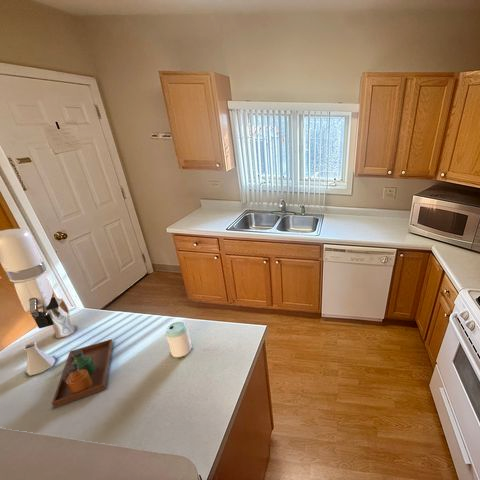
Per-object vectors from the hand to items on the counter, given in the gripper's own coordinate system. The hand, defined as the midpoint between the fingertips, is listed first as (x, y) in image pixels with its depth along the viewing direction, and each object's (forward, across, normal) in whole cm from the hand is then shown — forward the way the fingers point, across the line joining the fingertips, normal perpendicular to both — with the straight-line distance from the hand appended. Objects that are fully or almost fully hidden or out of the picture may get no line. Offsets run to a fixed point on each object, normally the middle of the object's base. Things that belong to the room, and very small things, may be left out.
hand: (49, 316), depth 81 cm
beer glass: (+23, -23, -5) cm, 33 cm away
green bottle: (+22, +6, +4) cm, 23 cm away
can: (+23, +13, +32) cm, 42 cm away
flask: (+23, -6, -9) cm, 25 cm away
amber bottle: (+22, +12, +3) cm, 25 cm away
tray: (+22, +5, +4) cm, 23 cm away
